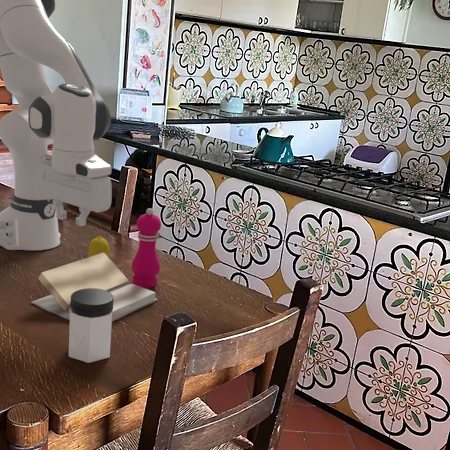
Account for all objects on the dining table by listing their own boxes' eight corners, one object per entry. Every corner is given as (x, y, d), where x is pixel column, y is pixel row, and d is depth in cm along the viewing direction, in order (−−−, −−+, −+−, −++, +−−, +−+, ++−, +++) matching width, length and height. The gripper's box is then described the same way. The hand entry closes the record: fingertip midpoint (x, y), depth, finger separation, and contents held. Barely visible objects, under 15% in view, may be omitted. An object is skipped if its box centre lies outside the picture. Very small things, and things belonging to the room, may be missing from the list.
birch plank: (38, 278, 139) (41, 272, 138) (100, 257, 156) (103, 252, 155) (64, 310, 136) (68, 304, 135) (125, 286, 153) (129, 280, 152)
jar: (58, 354, 120) (59, 297, 117) (82, 338, 128) (84, 284, 124) (97, 367, 117) (100, 309, 114) (120, 349, 125) (123, 294, 121)
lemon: (94, 269, 164) (95, 240, 162) (84, 262, 168) (85, 234, 166) (112, 266, 168) (114, 238, 166) (102, 259, 172) (103, 232, 169)
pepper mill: (153, 290, 155) (159, 214, 149) (126, 285, 156) (131, 209, 150) (162, 280, 162) (168, 207, 156) (136, 276, 163) (140, 202, 157)
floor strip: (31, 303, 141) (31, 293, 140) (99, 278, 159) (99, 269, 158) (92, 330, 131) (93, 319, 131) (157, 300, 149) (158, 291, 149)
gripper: (28, 153, 137) (27, 213, 141) (96, 172, 127) (93, 236, 131) (50, 151, 143) (49, 209, 146) (117, 168, 132) (114, 230, 136)
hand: (70, 222), depth 139 cm, fingers open, 5 cm apart
